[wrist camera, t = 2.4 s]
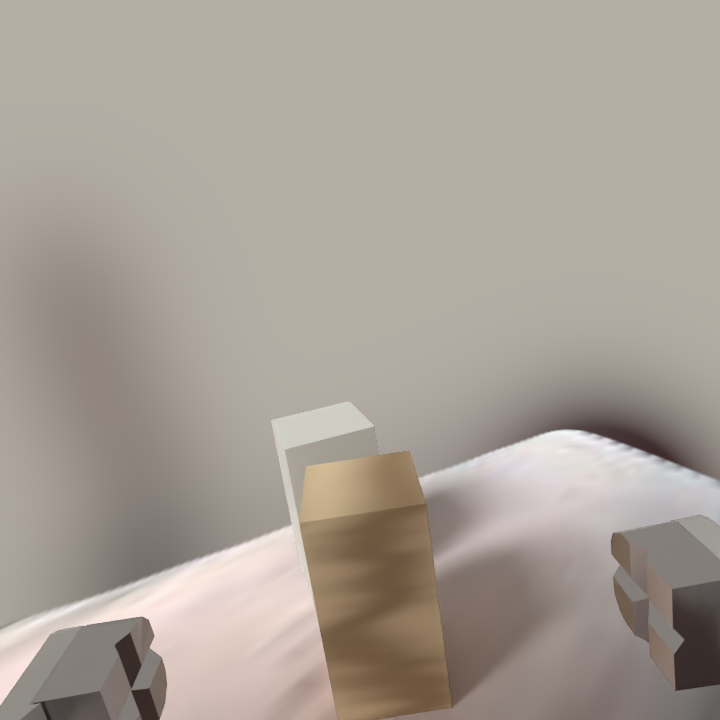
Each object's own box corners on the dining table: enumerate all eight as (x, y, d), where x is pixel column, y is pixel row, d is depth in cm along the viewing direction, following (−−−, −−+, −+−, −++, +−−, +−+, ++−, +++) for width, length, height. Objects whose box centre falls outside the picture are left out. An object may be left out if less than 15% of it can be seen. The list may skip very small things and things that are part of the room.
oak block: (338, 725, 24) (299, 523, 21) (338, 638, 28) (306, 466, 26) (452, 707, 24) (426, 503, 21) (432, 624, 28) (409, 450, 26)
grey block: (316, 610, 31) (284, 449, 28) (299, 561, 35) (271, 420, 33) (397, 582, 32) (374, 426, 29) (371, 539, 37) (349, 401, 34)
